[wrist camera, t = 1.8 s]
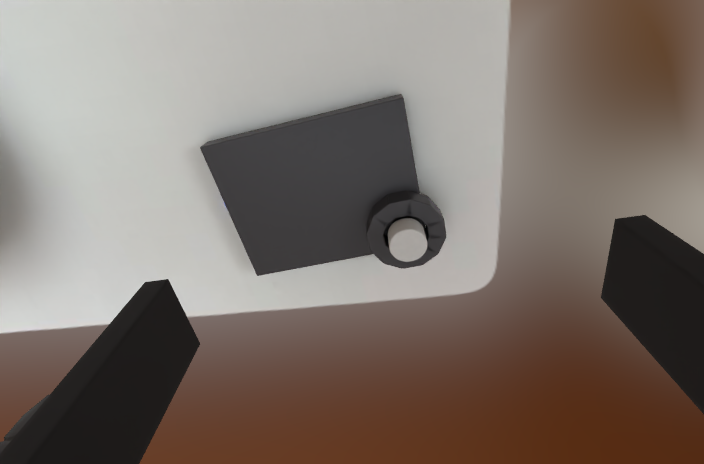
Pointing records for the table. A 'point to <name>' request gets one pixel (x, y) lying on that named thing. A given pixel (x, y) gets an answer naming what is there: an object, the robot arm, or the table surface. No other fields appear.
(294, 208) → the scale
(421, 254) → the button
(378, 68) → the table surface
